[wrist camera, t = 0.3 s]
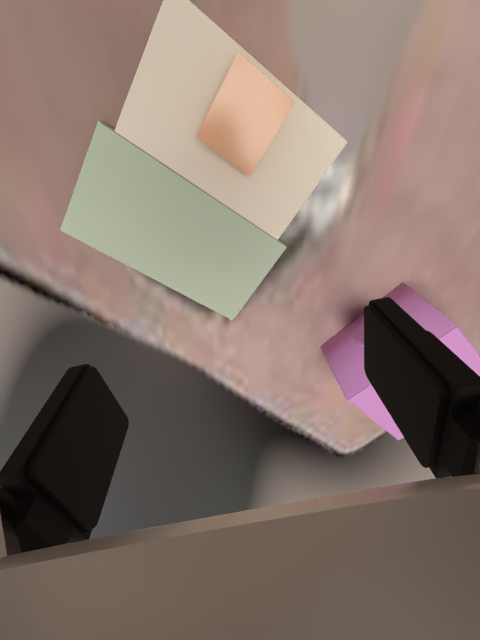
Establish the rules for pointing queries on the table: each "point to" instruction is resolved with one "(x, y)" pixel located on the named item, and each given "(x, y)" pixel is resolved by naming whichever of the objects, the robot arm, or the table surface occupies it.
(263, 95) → the terracotta tile
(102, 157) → the sage mat
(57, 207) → the table surface
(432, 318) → the teapot
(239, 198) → the plate
